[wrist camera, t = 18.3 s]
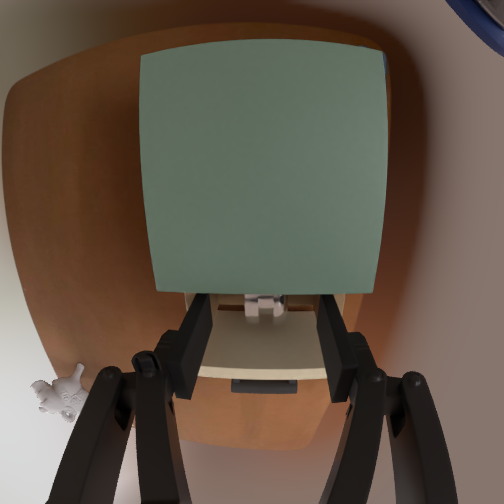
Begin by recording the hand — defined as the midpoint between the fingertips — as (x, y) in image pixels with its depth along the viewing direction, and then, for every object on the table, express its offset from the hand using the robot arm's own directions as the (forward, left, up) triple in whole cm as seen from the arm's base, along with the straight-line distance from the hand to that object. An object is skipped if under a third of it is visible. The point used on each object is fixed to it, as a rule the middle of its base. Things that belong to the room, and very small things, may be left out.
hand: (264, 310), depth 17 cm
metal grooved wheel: (0, +1, -6) cm, 6 cm away
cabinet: (0, -9, -8) cm, 12 cm away
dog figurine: (+28, +21, -8) cm, 36 cm away
